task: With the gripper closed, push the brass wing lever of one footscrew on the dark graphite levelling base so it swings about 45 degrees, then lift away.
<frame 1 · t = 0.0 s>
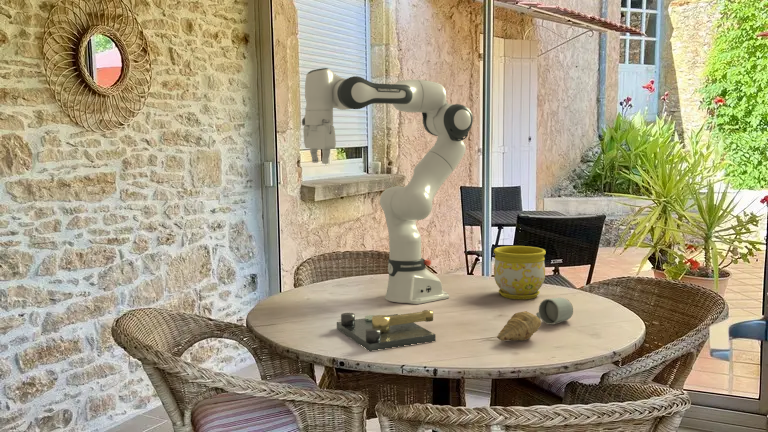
hand: (320, 163, 219), 48 cm above the table, tool pointing down, fingers open, 8 cm apart
seashell: (516, 342, 188), on the table
flowerpot: (518, 296, 241), on the table
levelling base: (384, 334, 195), on the table
ceramic mug: (552, 322, 208), on the table
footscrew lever: (403, 320, 195), point 4 cm above the table, hinge at 0.0°
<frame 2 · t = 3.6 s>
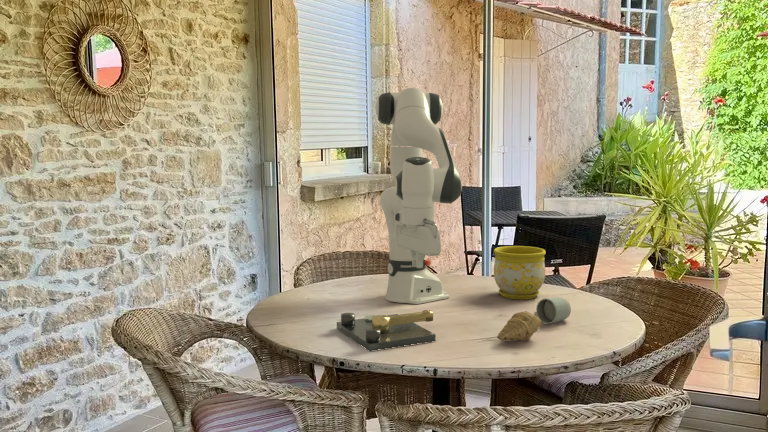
hand: (417, 267, 187), 21 cm above the table, tool pointing down, fingers closed
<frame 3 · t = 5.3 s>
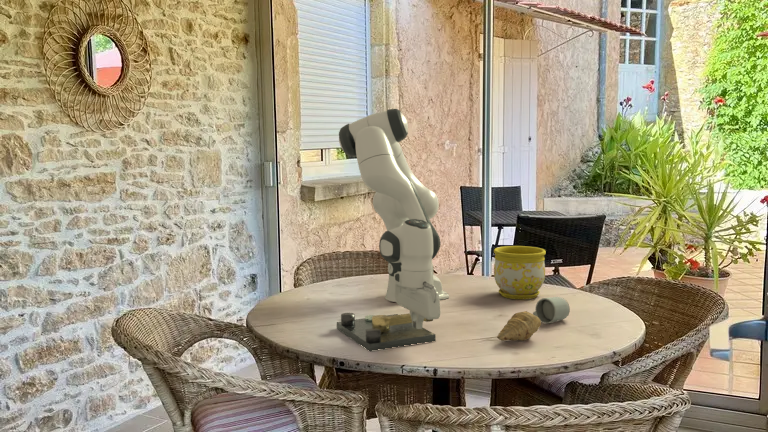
hand: (417, 327, 189), 4 cm above the table, tool pointing down, fingers closed
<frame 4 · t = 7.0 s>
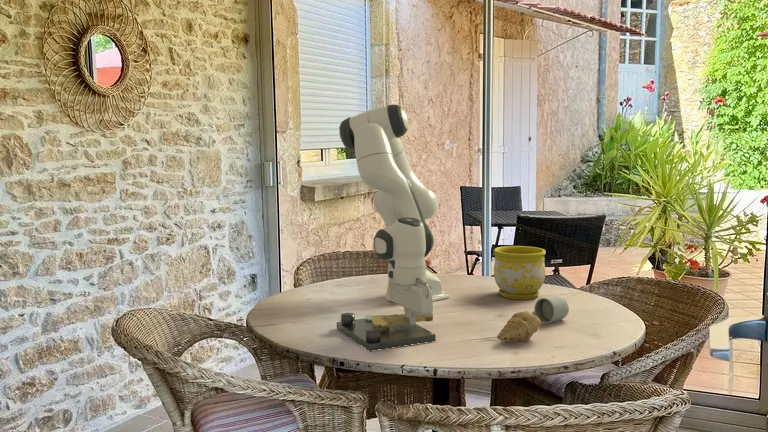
hand: (410, 323, 193), 4 cm above the table, tool pointing down, fingers closed
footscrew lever: (403, 320, 195), point 4 cm above the table, hinge at 0.7°, touching gripper
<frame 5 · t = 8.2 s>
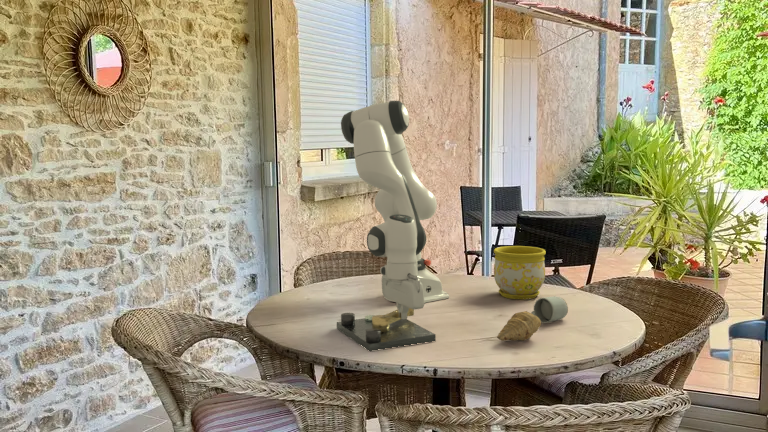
hand: (403, 318, 197), 4 cm above the table, tool pointing down, fingers closed
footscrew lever: (394, 317, 198), point 4 cm above the table, hinge at 31.6°, touching gripper
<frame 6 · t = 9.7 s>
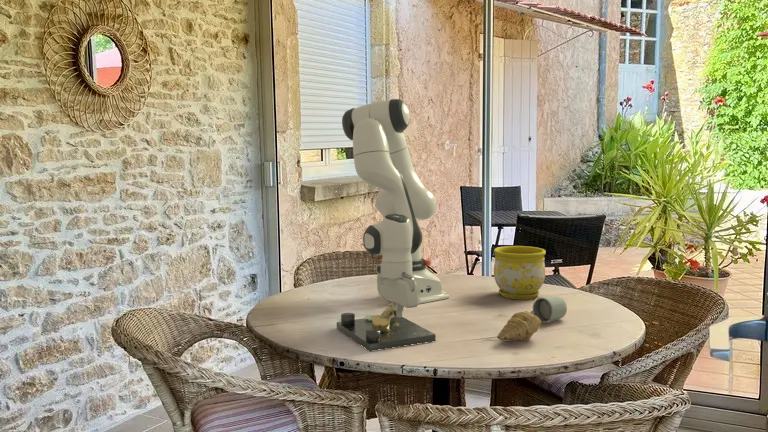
hand: (397, 316, 200), 4 cm above the table, tool pointing down, fingers closed
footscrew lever: (387, 316, 198), point 4 cm above the table, hinge at 50.5°, touching gripper
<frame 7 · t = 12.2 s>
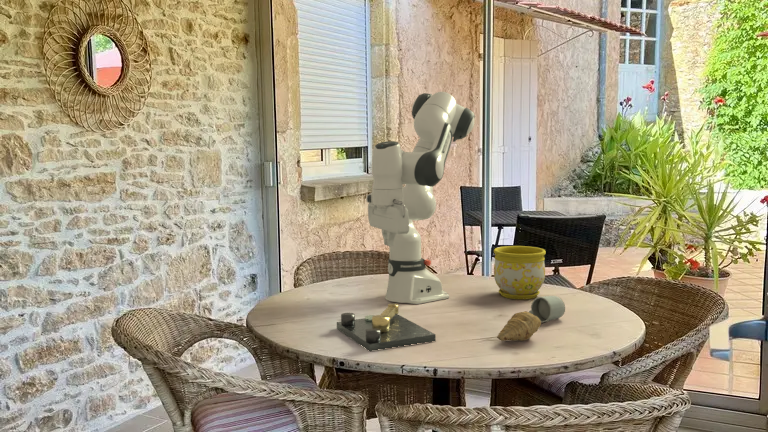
hand: (388, 245, 198), 25 cm above the table, tool pointing down, fingers closed
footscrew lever: (386, 316, 199), point 4 cm above the table, hinge at 50.8°
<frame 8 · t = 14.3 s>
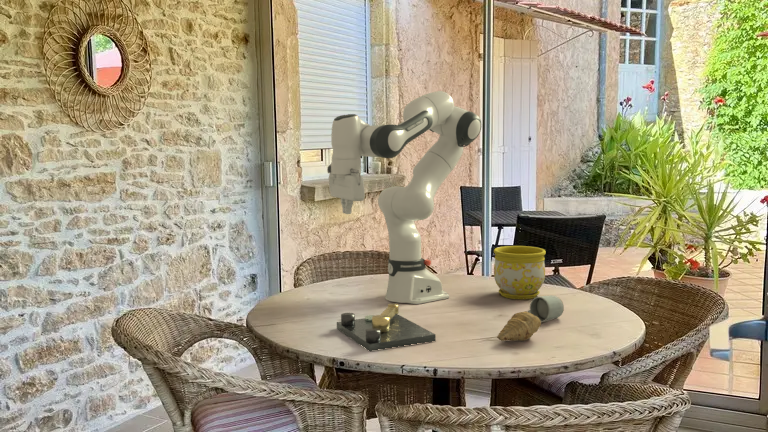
hand: (347, 213, 208), 33 cm above the table, tool pointing down, fingers closed
at the end: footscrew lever at +51° (first picture: +0°) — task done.
